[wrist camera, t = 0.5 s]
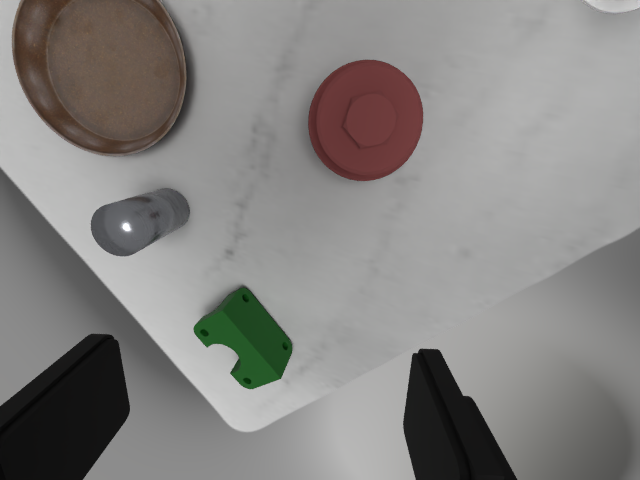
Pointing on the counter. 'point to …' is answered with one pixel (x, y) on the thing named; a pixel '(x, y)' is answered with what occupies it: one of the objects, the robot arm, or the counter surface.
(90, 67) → the plant saucer
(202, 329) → the clamp
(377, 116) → the mechanical component
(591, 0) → the panda figurine
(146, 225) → the metal pillar
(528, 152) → the counter surface
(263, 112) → the counter surface
